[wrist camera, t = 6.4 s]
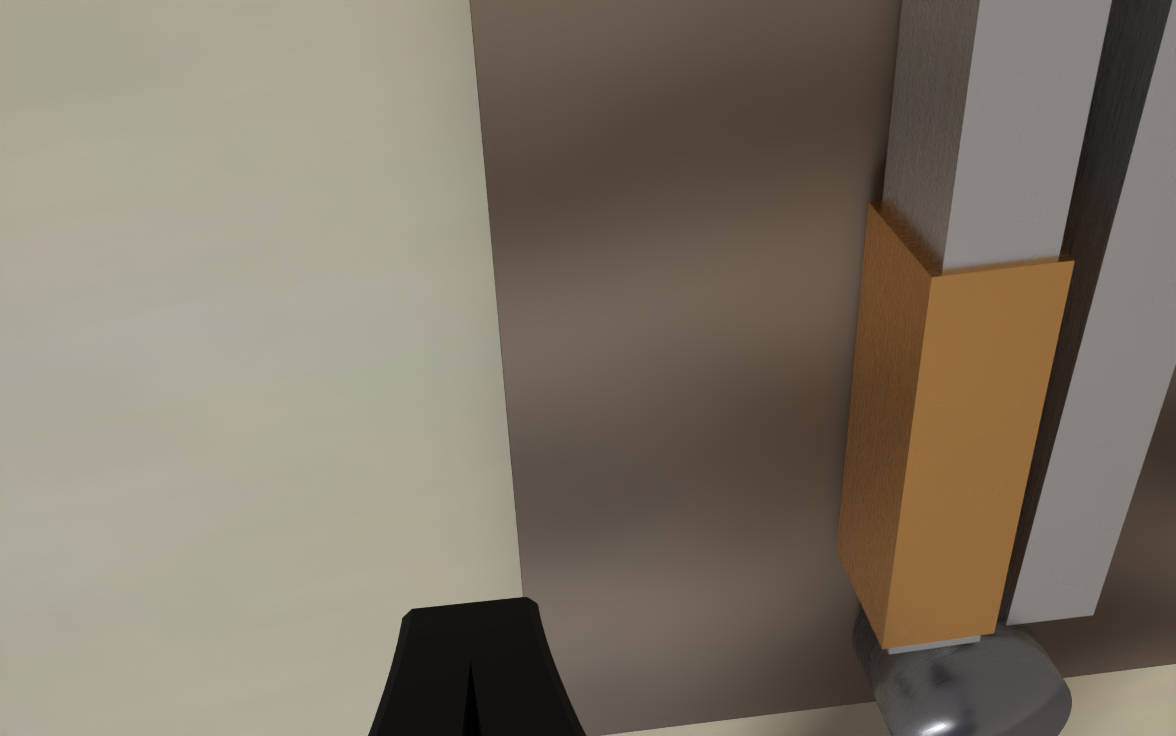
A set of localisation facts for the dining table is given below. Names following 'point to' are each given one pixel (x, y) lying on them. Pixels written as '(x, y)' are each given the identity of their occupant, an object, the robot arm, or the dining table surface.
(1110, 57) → the grey long bar
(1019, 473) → the tong arm
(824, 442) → the walnut board
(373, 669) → the dining table surface
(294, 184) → the dining table surface
